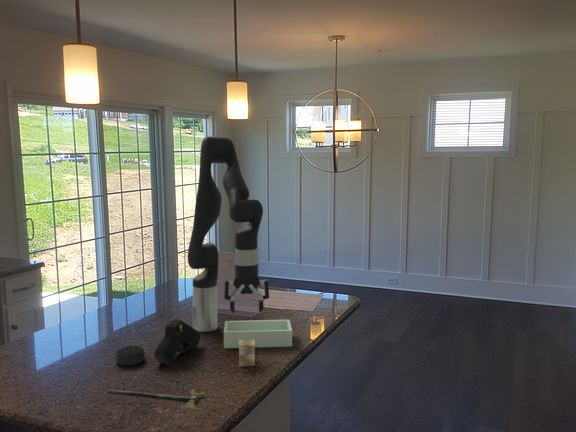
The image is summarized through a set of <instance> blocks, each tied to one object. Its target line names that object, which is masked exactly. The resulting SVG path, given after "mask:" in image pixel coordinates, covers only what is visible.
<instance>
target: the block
mask: <svg viewBox="0 0 576 432" xmlns="http://www.w3.org/2000/svg"><path fill="white" fill-rule="evenodd" d="M255 348H256V347H255V340H254V339H250V340H239V348H238V359H239V361H238V365H239V367H256V352H255V351H256V349H255Z"/></svg>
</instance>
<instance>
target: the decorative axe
mask: <svg viewBox="0 0 576 432" xmlns="http://www.w3.org/2000/svg"><path fill="white" fill-rule="evenodd" d="M107 393H110V394H118V395H119V394H120V395H128V396H138V397H139V396H140V397H149V398H155V399H165V400H172V401H173V400H175V401H185V402H186V401H187V403H185V404H184V405H182V406H180V407H182V408H186V409H194V410H195V409H196V410H202V408H203V407H196V406H195V403H198V401H199V397H201V396H203V395H204V396H206V394H205V392H204V391H202V392H200V393H198V392H196V390H193V389H191V390H190V393H189V394H188V395H189V396H190V397H189V396H183V395H182V396H179V395H171V394H161V393H160V394H159V393H149V392H140V391H139V392H138V391H130V390H118V389H117V390H116V389H108V390H107Z"/></svg>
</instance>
